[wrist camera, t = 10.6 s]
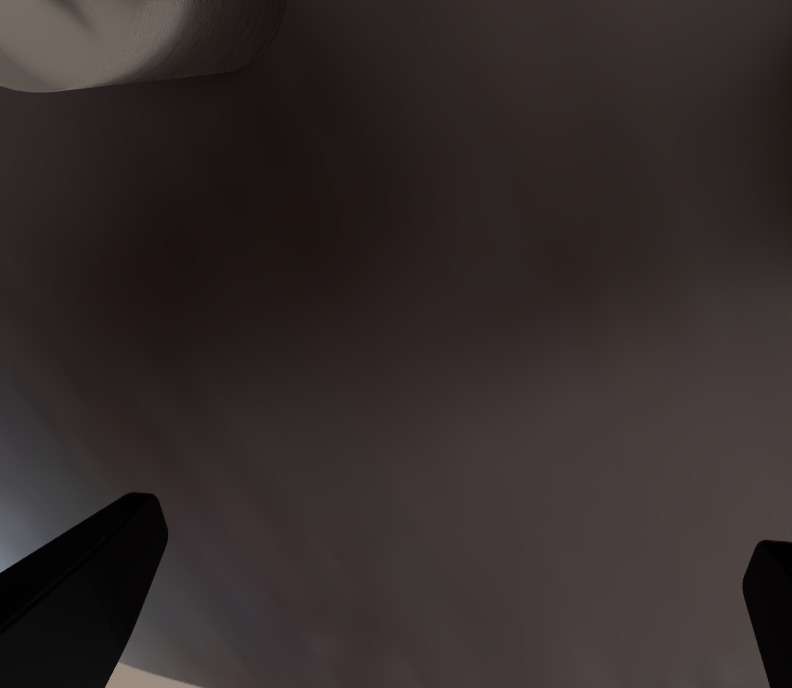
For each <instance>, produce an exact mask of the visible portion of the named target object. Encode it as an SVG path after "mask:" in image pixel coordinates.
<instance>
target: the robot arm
mask: <svg viewBox="0 0 792 688" xmlns="http://www.w3.org/2000/svg"><path fill="white" fill-rule="evenodd" d="M167 541H168V528H167V525H166V522H165V519H164V515H163V512H162V509H161V506H160V503H159V500H158V498H157V497H156V496H155V495H154V494H150V493H136V492H132V493H128V494H126V495H124V496H122V497H121V498H119V499H117V500H116V501H114V502H113V503H111V504H110V505H108V506H106V507H105V508H103V509H102V510H100V511H98V512H97V513H95V514H94V515H92V516H90V517H89V518H87V519H86V520H84V521H82V522H81V523H79V524H78V525H76V526H74V527H73V528H71V529H70V530H68V531H66V532H65V533H63V534H62V535H60V536H58V537H57V538H55V539H54V540H52V541H50V542H49V543H47V544H46V545H44V546H42V547H41V548H39V549H38V550H36V551H34V552H33V553H31V554H30V555H28V556H26V557H25V558H23V559H22V560H20V561H19V562H17V563H15V564H14V565H12V566H11V567H9V568H7V569H6V570H4V571H3V572H1V573H0V688H105V686H106V684H107V682H108V680H109V678H110V676H111V675H112V673H113V671H114V668H115V667H116V665H117V663H118V661H119V659H120V657H121V655H122V653H123V651H124V649H125V647H126V645H127V642H128V640H129V638H130V636H131V634H132V631H133V629H134V627H135V624H136V622H137V619H138V617H139V614H140V612H141V609H142V607H143V604H144V601H145V599H146V596H147V594H148V591H149V589H150V586H151V584H152V581H153V578H154V576H155V573H156V571H157V568H158V566H159V563H160V561H161V558H162V556H163V553H164V550H165V548H166V545H167ZM743 595H744V599H745V602H746V606H747V609H748V613H749V616H750V620H751V623H752V627H753V630H754V633H755V637H756V640H757V644H758V647H759V651H760V654H761V658H762V661H763V665H764V668H765V671H766V675H767V678H768V682H769V685H770V688H792V542H787V541H774V540H762V541H760V542H759V543H758V544H757V546H756V547H755V550H754V552H753V555H752V557H751V560H750V562H749V565H748V568H747V570H746V573H745V575H744V578H743Z"/></svg>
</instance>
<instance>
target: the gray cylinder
mask: <svg viewBox="0 0 792 688" xmlns="http://www.w3.org/2000/svg"><path fill="white" fill-rule="evenodd" d="M285 5H286V0H0V86H2V87H6V88H9V89H13V90H18V91H25V92H56V91H65V90H74V89H83V88H92V87H101V86H110V85H119V84H128V83H137V82H146V81H155V80H164V79H174V78H183V77H192V76H201V75H210V74H219V73H226V72H232V71H235V70H237V69H240V68H243V67H244V66H246V65H248V64H250V63H251V62H253V61H254V60H255V59H257V58H258V57H259V56H260V55H261V54H262V53H263V52H264V51H265V50H266V49H267V47H268V46H269V45H270V43H271V42H272V41H273V39H274V37H275V35H276V33H277V31H278V29H279V26H280V24H281V21H282V18H283V14H284V10H285Z"/></svg>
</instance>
